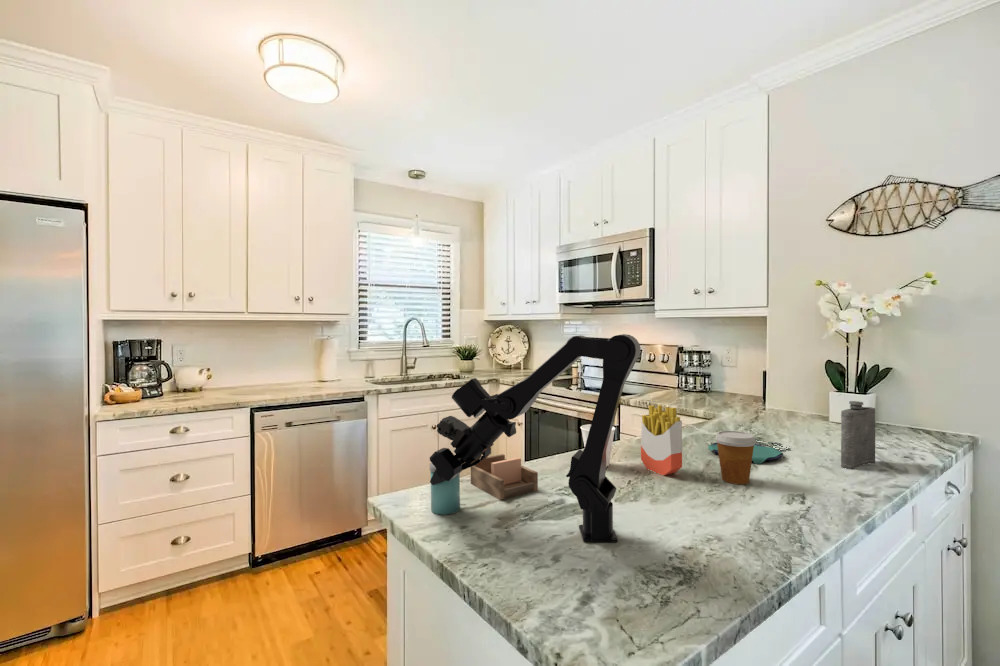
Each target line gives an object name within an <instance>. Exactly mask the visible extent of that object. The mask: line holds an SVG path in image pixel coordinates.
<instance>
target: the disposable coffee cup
mask: <svg viewBox="0 0 1000 666" xmlns="http://www.w3.org/2000/svg"><path fill="white" fill-rule="evenodd" d="M714 439H715V441H716V442H715V443H717V446H718V453H717V454H718V459H719V460H718V461H719V468H720V475H721V480H722V481H723V480H724V482H725V483H728V484H733V485H747V484H748V483H750V476H751V471H752V469H751V468H752V464H753V463H752V462H753V461H752V456H753V448H754V445H755V444H757V443H756V440H755V439H756V438H755V435H754V434H752V433H750V432H745V431H740V430H720V431H717V432H716V436H715V437H714Z"/></svg>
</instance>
